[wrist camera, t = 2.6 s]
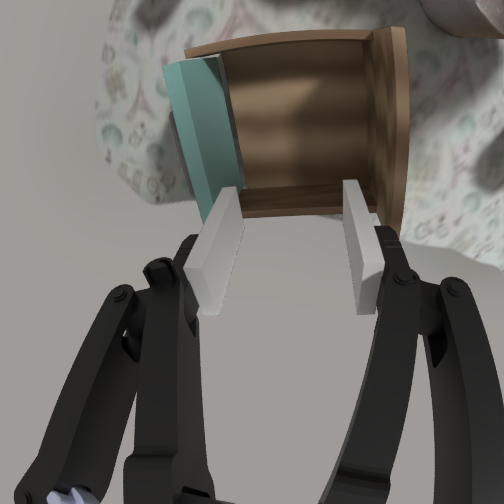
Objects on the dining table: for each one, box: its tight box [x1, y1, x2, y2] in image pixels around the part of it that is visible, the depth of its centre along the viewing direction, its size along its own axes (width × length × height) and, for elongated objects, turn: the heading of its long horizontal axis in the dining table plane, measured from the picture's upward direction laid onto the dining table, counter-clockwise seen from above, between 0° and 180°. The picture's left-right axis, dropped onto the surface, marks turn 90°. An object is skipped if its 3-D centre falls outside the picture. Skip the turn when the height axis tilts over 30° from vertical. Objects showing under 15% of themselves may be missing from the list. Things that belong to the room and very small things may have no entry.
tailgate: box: [162, 57, 242, 225], centre depth 30 cm, size 18×3×12 cm, turn 9°
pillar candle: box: [420, 0, 504, 39], centre depth 14 cm, size 10×10×15 cm
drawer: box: [184, 26, 410, 238], centre depth 29 cm, size 21×20×15 cm
